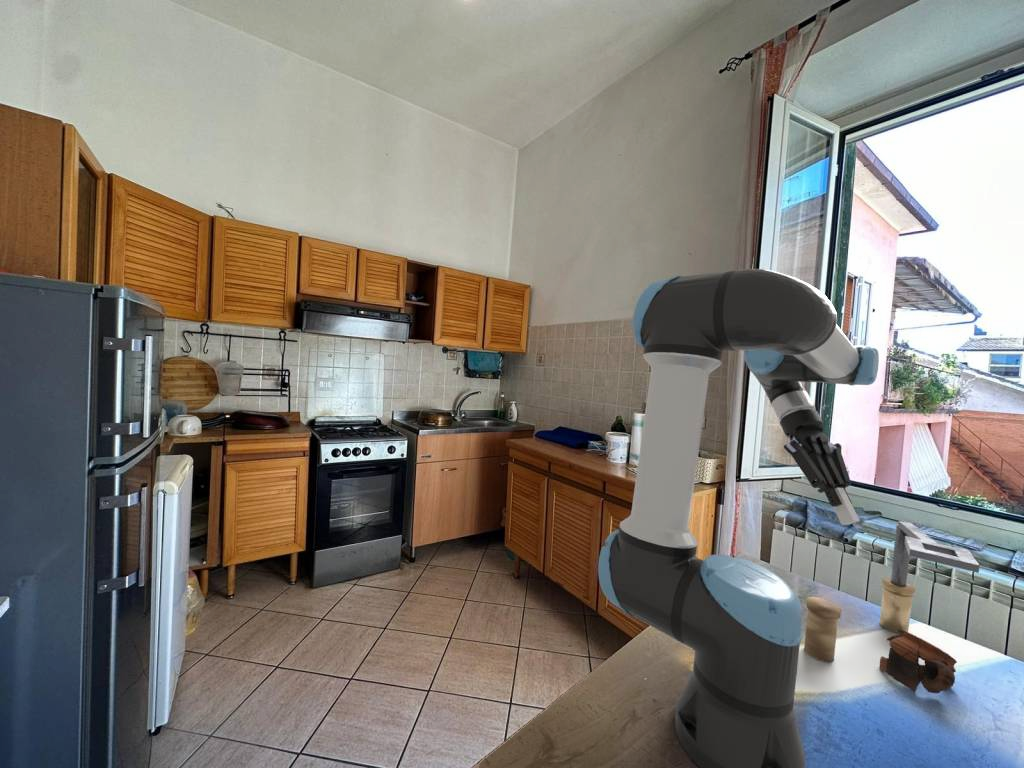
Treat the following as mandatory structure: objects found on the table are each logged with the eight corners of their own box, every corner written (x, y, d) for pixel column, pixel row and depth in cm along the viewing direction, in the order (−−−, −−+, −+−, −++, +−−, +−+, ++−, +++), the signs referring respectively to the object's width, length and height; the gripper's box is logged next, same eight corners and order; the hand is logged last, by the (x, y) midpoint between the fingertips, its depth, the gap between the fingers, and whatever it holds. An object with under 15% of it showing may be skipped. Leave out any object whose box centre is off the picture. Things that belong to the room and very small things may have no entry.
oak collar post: (800, 653, 76) (805, 604, 76) (803, 640, 80) (808, 593, 80) (835, 667, 73) (840, 615, 73) (836, 653, 77) (841, 604, 77)
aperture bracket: (882, 671, 73) (896, 545, 72) (877, 617, 90) (887, 515, 89) (963, 701, 67) (979, 565, 66) (941, 638, 84) (953, 529, 83)
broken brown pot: (861, 658, 77) (881, 618, 78) (915, 694, 75) (935, 652, 76) (912, 690, 65) (935, 642, 66) (979, 733, 63) (1001, 682, 64)
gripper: (808, 425, 98) (860, 528, 85) (761, 422, 95) (807, 528, 82) (835, 409, 92) (895, 517, 79) (785, 405, 89) (839, 516, 76)
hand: (850, 522), depth 81 cm, fingers closed
